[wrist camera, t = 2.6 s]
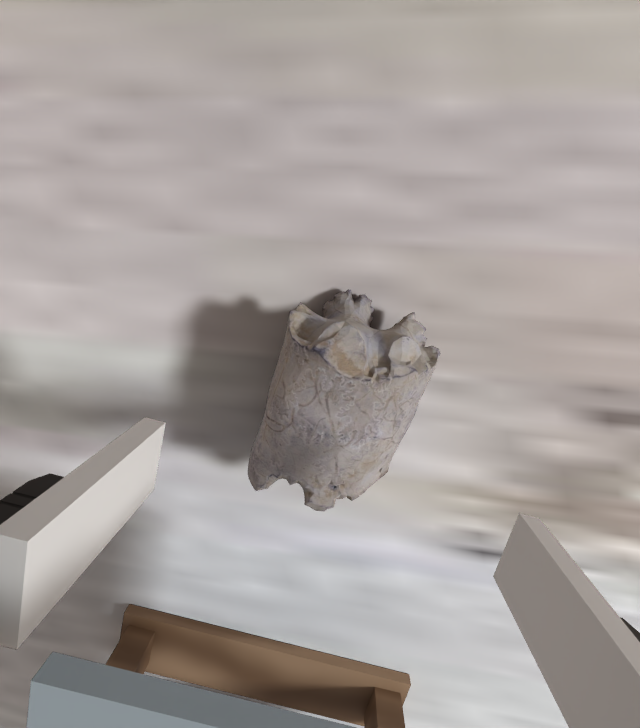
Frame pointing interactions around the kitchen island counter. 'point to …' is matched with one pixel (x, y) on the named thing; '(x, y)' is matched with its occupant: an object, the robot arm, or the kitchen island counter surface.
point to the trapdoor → (142, 702)
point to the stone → (339, 400)
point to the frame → (260, 668)
